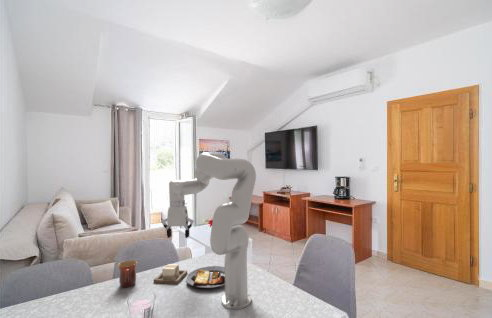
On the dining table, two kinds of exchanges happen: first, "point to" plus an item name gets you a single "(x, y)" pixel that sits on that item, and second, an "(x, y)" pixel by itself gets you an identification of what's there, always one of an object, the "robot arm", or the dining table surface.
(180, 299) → the dining table surface
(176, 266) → the birch block
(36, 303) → the dining table surface
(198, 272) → the food plate
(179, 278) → the walnut frame
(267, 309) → the dining table surface
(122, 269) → the mug
